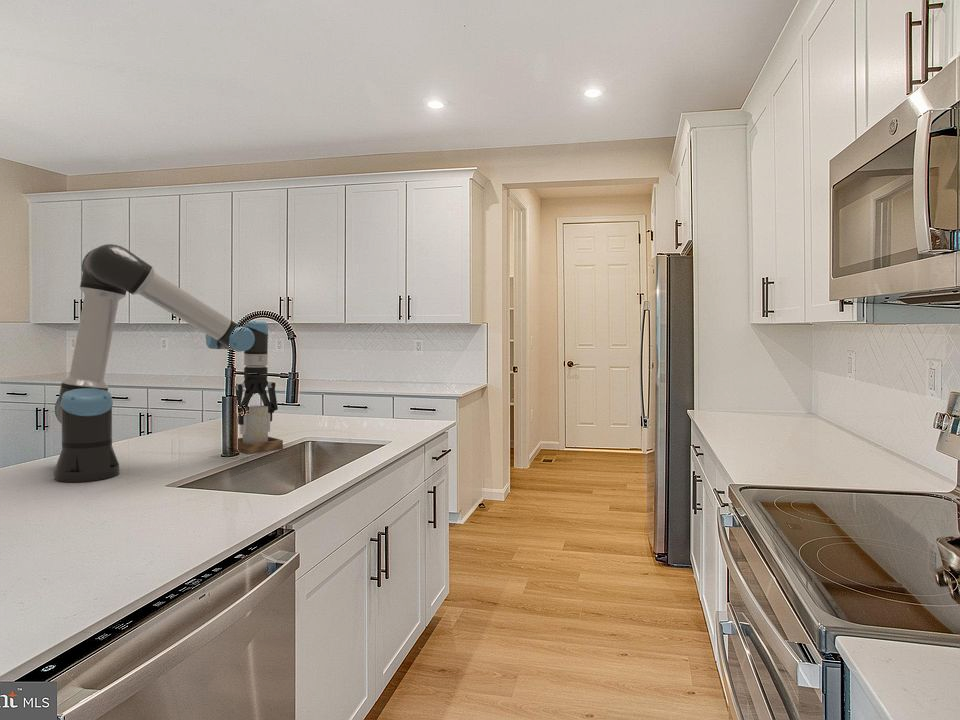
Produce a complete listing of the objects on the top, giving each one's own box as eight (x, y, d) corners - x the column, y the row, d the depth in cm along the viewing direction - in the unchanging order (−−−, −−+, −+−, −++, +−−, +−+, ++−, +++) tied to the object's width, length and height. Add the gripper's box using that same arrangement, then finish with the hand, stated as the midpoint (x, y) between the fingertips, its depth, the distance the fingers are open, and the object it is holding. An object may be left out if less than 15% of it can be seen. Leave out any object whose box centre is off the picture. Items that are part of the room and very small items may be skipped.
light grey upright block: (251, 444, 206) (251, 409, 206) (237, 441, 211) (237, 406, 211) (272, 441, 213) (273, 407, 212) (258, 438, 218) (259, 404, 217)
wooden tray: (247, 454, 203) (247, 444, 203) (227, 448, 211) (227, 439, 211) (282, 448, 213) (282, 440, 213) (262, 443, 221) (262, 435, 221)
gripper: (232, 368, 200) (231, 437, 201) (289, 366, 216) (288, 430, 217) (220, 366, 205) (220, 434, 206) (277, 364, 221) (276, 428, 222)
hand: (255, 432), depth 212 cm, fingers closed on light grey upright block, 8 cm apart
